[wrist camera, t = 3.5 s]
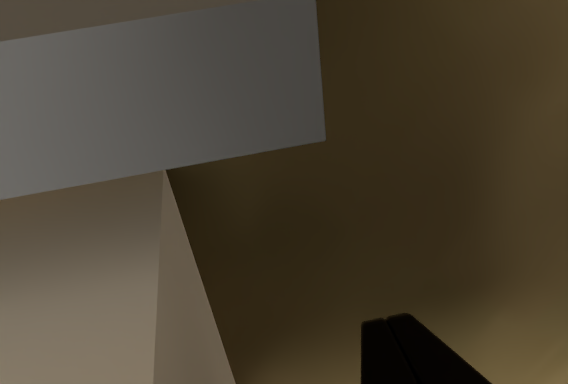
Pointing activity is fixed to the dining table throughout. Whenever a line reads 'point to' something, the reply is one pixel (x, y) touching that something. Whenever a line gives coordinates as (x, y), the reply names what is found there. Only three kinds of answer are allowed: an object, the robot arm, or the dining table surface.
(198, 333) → the block
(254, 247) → the dining table surface
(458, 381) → the robot arm
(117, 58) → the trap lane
